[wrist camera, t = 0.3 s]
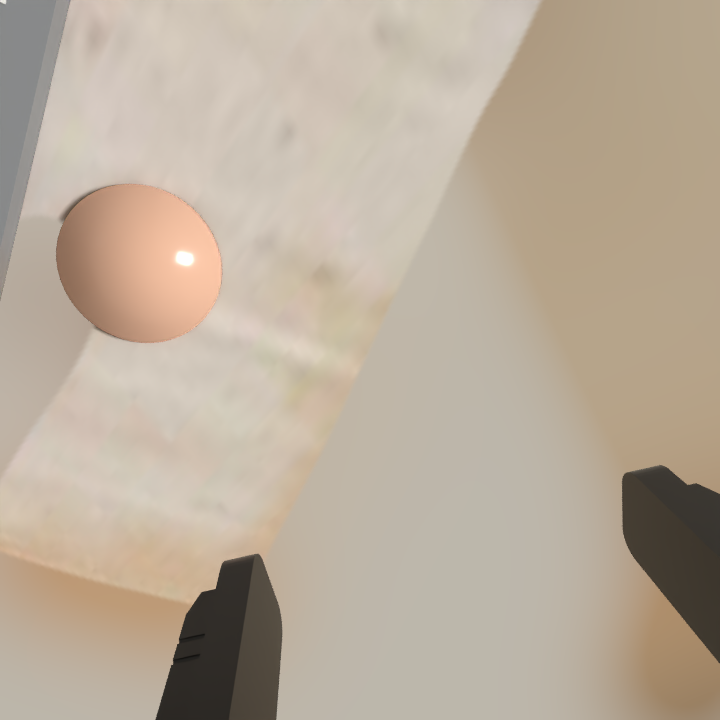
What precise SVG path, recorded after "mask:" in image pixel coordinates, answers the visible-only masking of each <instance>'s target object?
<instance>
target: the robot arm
mask: <svg viewBox="0 0 720 720" xmlns="http://www.w3.org/2000/svg"><path fill="white" fill-rule="evenodd" d="M622 502H623V503H622V504H623V505H622V506H623V507H622V511H623V534H624V538H625V541H626V544H627V546H628V548H629V550H630V552H631V554H632V555H633V557H634V558H635V560H636V561H637V562H638V563H639V565H640V566H641V567H642V568H643V570H644V571H645V572H646V573H647V575H648V576H649V577H650V578H651V579H652V581H653V582H654V583H655V584H656V585H657V587H658V588H659V589H660V591H661V592H662V593H663V594H664V595H665V597H666V598H667V599H668V600H669V602H670V603H671V604H672V605H673V607H674V608H675V609H676V610H677V611H678V613H679V614H680V615H681V616H682V618H683V619H684V620H685V621H686V623H687V624H688V625H689V626H690V627H691V629H692V630H693V631H694V632H695V634H696V635H697V636H698V637H699V639H700V640H701V641H702V642H703V643H704V644H705V646H706V647H707V648H708V650H709V651H710V652H711V653H712V654H713V656H714V657H715V658H716V659H717V661H718V662H719V663H720V494H718V493H716V492H714V491H712V490H710V489H708V488H705V487H703V486H701V485H699V484H692V485H687V484H686V483H684V482H683V481H682V480H681V479H680V478H679V477H677V476H676V475H675V474H674V473H673V472H672V471H670V470H669V469H668V468H667V467H665V466H662V465H659V466H654V467H650V468H646V469H641V470H636V471H632V472H628V473H626V474H624V476H623V479H622ZM281 646H282V621H281V614H280V609H279V605H278V602H277V599H276V596H275V594H274V591H273V588H272V585H271V583H270V580H269V577H268V574H267V571H266V569H265V566H264V563H263V560H262V558H261V556H260V555H259V554H254V555H249V556H245V557H240V558H236V559H231V560H227V561H224V562H223V563H222V565H221V569H220V573H219V577H218V582H217V586H216V589H214V590H209V591H205V592H201V594H200V595H199V597H198V598H197V600H196V601H195V603H194V604H193V605H192V607H191V608H190V610H189V611H188V613H187V614H186V617H185V620H184V624H183V627H182V630H181V634H180V637H179V644H177V648H176V651H175V655H174V658H173V665H171V668H170V672H169V675H168V679H167V682H166V685H165V689H164V693H163V696H162V699H161V703H160V706H159V710H158V713H157V717H156V720H276V714H277V700H278V687H279V674H280V660H281Z"/></svg>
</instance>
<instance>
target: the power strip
mask: <svg viewBox="0 0 720 720" xmlns="http://www.w3.org/2000/svg"><path fill="white" fill-rule="evenodd" d="M69 3H70V0H0V299H1V295H2V291H3V286H4V282H5V278H6V273H7V269H8V265H9V261H10V256H11V252H12V247H13V243H14V239H15V234H16V231H17V226H18V222H19V218H20V213H21V209H22V205H23V200H24V196H25V192H26V188H27V183H28V179H29V175H30V170H31V166H32V162H33V158H34V153H35V149H36V145H37V140H38V136H39V132H40V127H41V123H42V119H43V115H44V110H45V106H46V102H47V97H48V93H49V89H50V85H51V80H52V76H53V72H54V67H55V63H56V59H57V54H58V50H59V46H60V42H61V37H62V33H63V29H64V24H65V20H66V16H67V12H68V7H69Z"/></svg>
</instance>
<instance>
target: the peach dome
mask: <svg viewBox="0 0 720 720" xmlns="http://www.w3.org/2000/svg"><path fill="white" fill-rule="evenodd" d="M56 260H57V268H58V272H59V276H60V280H61V282H62V284H63V287H64V290H65V291H66V293H67V295H68V296H69V298H70V300H71V301H72V303H73V304H74V306H75V307H76V308H77V309H78V310H79V311H80V313H81V314H83V316H84V317H85V318H87V319H88V320H89V321H90V322H91V323H92V324H94V325H95V326H97V327H98V328H100V329H101V330H103V331H105V332H107V333H109V334H111V335H113V336H116V337H118V338H121V339H125V340H129V341H134V342H141V343H154V342H163V341H167V340H171V339H174V338H177V337H179V336H182V335H183V334H185V333H187V332H189V331H190V330H192V329H193V328H194V327H196V326H197V325H198V324H199V323H200V322H201V321H202V320H203V319H204V318H205V317H206V316H207V314H208V313H209V312H210V310H211V309H212V307H213V305H214V304H215V302H216V299H217V297H218V294H219V291H220V287H221V281H222V262H221V256H220V252H219V248H218V245H217V242H216V240H215V238H214V236H213V234H212V232H211V230H210V229H209V227H208V225H207V224H206V223H205V221H204V220H203V219H202V217H201V216H200V215H199V214H198V213H197V212H196V211H195V210H194V209H193V208H192V207H191V206H189V205H188V204H187V203H186V202H184V201H183V200H181V199H180V198H178V197H176V196H175V195H173V194H171V193H168V192H166V191H164V190H161V189H158V188H155V187H151V186H146V185H137V184H122V185H114V186H109V187H105V188H103V189H100V190H98V191H95V192H93V193H92V194H90V195H88V196H86V197H85V198H84V199H83V200H81V201H80V202H79V203H78V204H77V205H76V206H75V207H74V208H73V209H72V210H71V211H70V213H69V214H68V216H67V217H66V219H65V221H64V223H63V225H62V227H61V230H60V233H59V236H58V241H57V248H56Z"/></svg>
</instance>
